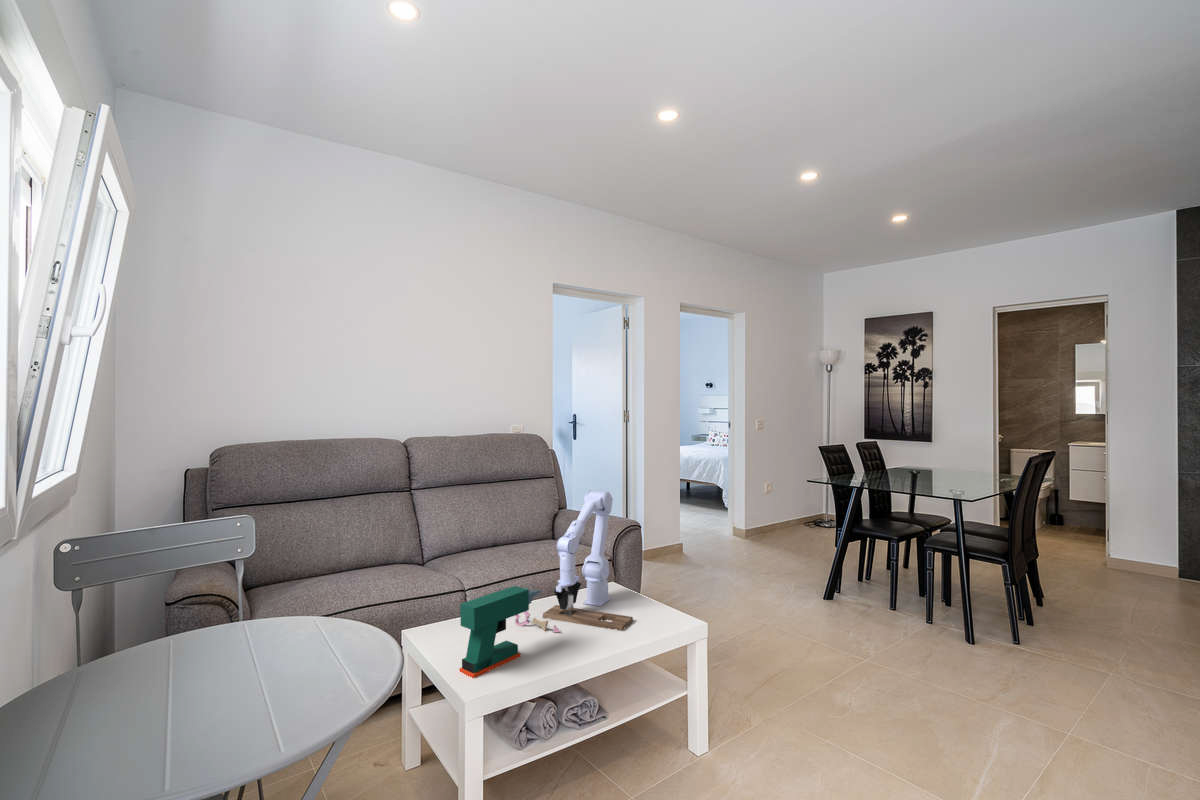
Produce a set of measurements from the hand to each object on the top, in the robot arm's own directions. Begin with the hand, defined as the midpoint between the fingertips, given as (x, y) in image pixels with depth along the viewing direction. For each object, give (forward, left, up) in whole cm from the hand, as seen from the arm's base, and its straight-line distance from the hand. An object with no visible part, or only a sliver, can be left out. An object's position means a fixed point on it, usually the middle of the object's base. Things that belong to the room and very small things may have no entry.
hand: (568, 605), depth 213 cm
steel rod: (0, 0, -4) cm, 4 cm away
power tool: (+38, -1, -4) cm, 38 cm away
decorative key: (+15, -4, -4) cm, 16 cm away
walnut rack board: (0, +8, -4) cm, 9 cm away
